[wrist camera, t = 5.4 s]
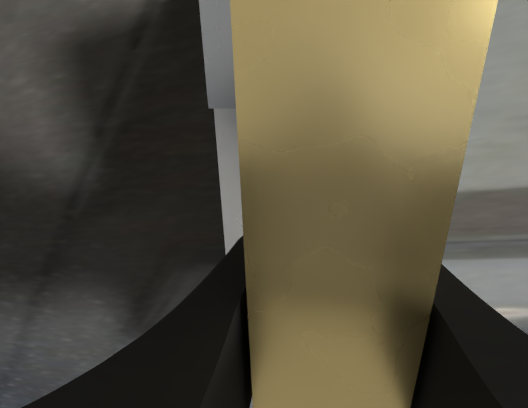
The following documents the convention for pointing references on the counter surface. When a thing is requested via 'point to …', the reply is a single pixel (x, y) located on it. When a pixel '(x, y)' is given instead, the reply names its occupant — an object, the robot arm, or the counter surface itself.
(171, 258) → the counter surface
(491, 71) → the counter surface
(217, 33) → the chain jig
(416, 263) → the brass plaque on stand
